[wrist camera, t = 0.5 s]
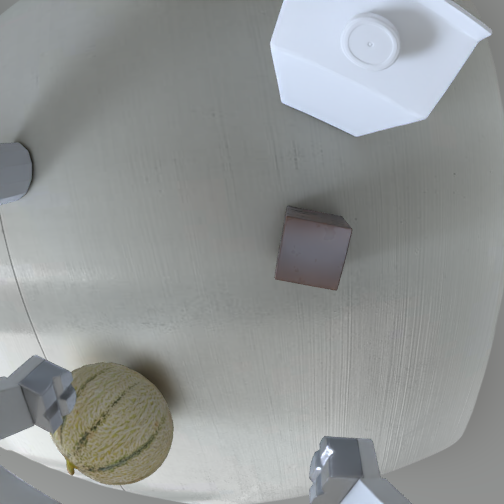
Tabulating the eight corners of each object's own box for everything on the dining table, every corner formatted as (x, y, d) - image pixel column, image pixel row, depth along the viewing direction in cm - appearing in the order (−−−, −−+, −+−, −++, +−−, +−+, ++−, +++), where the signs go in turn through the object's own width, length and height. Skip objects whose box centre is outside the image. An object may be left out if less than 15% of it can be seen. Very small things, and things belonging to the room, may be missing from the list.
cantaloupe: (208, 387, 35) (171, 490, 21) (161, 439, 39) (125, 519, 25) (102, 316, 34) (23, 392, 20) (75, 383, 38) (20, 450, 24)
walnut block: (287, 205, 28) (286, 215, 23) (342, 216, 28) (352, 229, 23) (277, 259, 30) (274, 279, 25) (330, 269, 29) (337, 291, 24)
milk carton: (311, 36, 23) (332, -110, 5) (385, 70, 23) (502, -24, 5) (281, 103, 25) (258, 7, 7) (356, 137, 25) (470, 112, 7)
